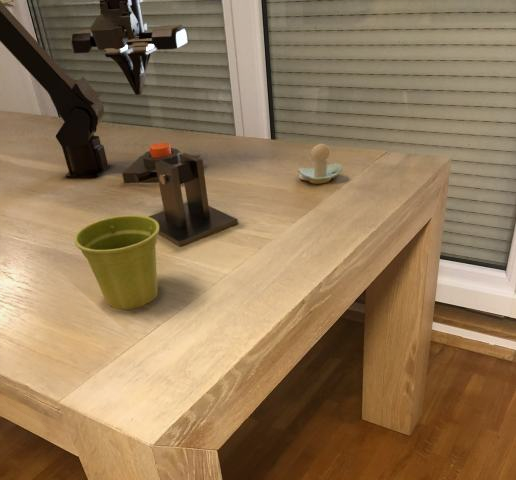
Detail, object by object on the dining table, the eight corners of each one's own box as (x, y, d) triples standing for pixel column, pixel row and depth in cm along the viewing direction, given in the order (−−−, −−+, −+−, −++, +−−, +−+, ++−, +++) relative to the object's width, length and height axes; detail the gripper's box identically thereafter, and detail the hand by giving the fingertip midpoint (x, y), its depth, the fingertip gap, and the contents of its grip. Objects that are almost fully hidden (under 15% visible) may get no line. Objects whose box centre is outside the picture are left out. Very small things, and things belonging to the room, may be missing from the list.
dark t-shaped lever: (137, 187, 86) (132, 171, 85) (168, 176, 88) (163, 161, 87) (170, 187, 77) (165, 169, 76) (204, 176, 79) (199, 159, 78)
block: (124, 185, 100) (119, 162, 97) (142, 167, 107) (138, 146, 105) (189, 185, 97) (185, 162, 95) (203, 167, 104) (200, 145, 102)
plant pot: (99, 282, 72) (81, 218, 67) (173, 274, 72) (161, 210, 67) (87, 323, 64) (66, 255, 59) (170, 314, 64) (156, 245, 59)
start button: (148, 159, 99) (146, 149, 98) (155, 152, 102) (153, 142, 101) (167, 159, 98) (166, 149, 97) (174, 152, 101) (172, 142, 100)
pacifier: (293, 177, 97) (302, 188, 92) (291, 139, 93) (300, 149, 88) (334, 171, 98) (345, 182, 93) (334, 133, 94) (345, 142, 89)
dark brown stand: (141, 226, 85) (127, 161, 79) (197, 206, 89) (187, 143, 84) (180, 249, 78) (167, 180, 72) (238, 226, 82) (231, 159, 76)
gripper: (41, -1, 86) (68, 107, 95) (155, -9, 82) (172, 105, 91) (76, -9, 95) (98, 91, 104) (181, -16, 90) (194, 89, 100)
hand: (138, 94), depth 99 cm, fingers closed
